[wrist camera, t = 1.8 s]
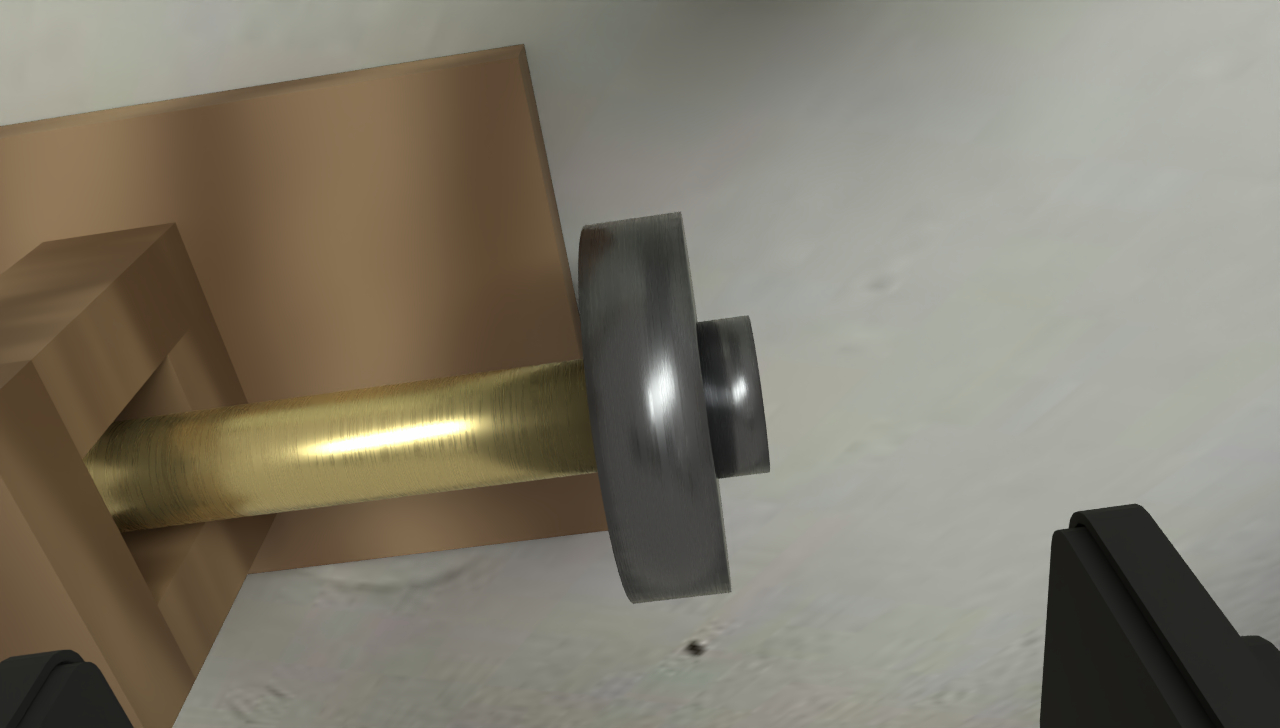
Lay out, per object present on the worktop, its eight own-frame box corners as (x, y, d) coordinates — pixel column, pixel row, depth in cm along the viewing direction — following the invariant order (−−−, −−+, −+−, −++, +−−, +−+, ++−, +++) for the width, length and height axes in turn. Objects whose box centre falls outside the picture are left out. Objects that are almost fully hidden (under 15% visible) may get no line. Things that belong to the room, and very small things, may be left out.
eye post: (523, 44, 21) (458, 196, 13) (616, 500, 27) (608, 791, 19) (-149, 149, 22) (-572, 347, 14) (81, 566, 28) (-132, 867, 20)
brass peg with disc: (723, 152, 21) (760, 311, 14) (756, 442, 24) (798, 671, 18) (-53, 266, 22) (-327, 459, 16) (86, 527, 25) (-92, 769, 19)
